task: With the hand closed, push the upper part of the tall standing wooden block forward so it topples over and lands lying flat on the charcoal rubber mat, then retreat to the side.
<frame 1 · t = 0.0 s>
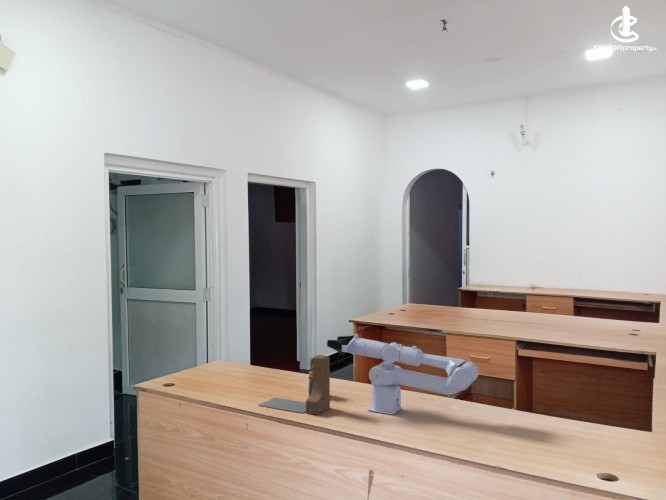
hand: (332, 341, 185), 22 cm above the table, tool horizontal, fingers open, 7 cm apart
mat: (288, 405, 181), on the table
supplement bottle: (316, 396, 193), on the table
wooden block: (318, 411, 175), on the table
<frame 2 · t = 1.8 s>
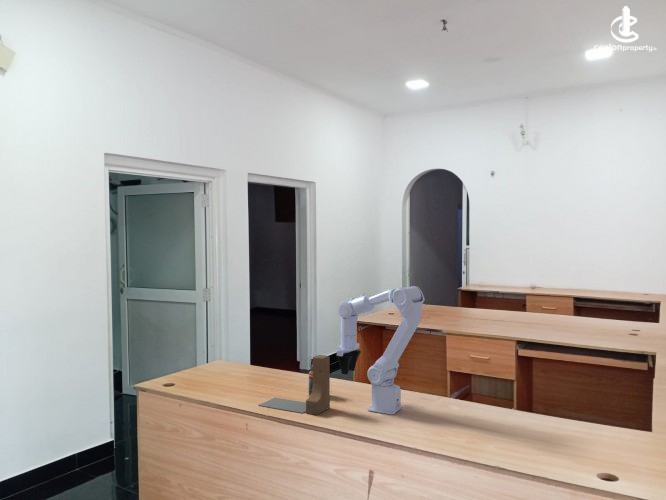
hand: (348, 372, 185), 10 cm above the table, tool pointing down, fingers open, 5 cm apart
nothing on the table moved.
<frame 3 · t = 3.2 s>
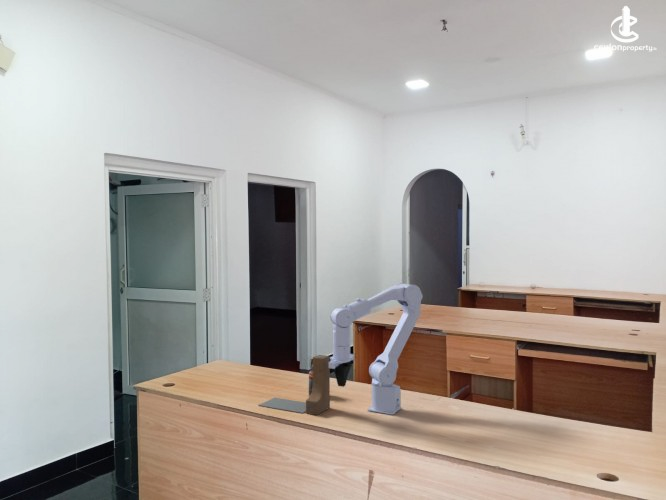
hand: (341, 385, 171), 9 cm above the table, tool pointing down, fingers closed
nothing on the table moved.
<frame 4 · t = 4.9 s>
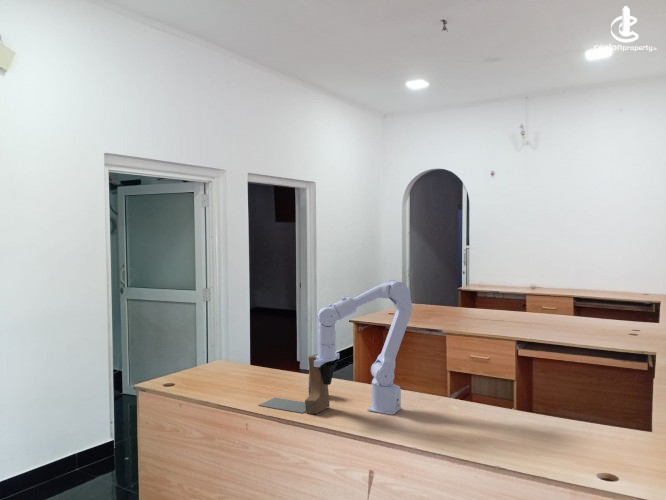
hand: (327, 384, 173), 9 cm above the table, tool pointing down, fingers closed
wooden block: (318, 410, 175), on the table, touching gripper
everything else where it was.
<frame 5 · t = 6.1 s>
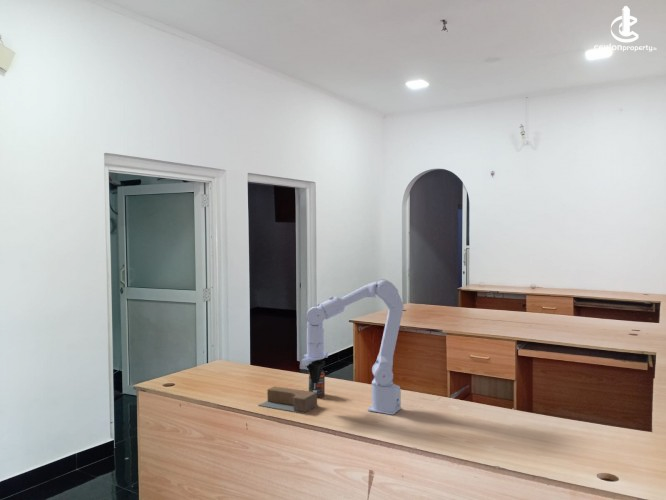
hand: (315, 382, 175), 9 cm above the table, tool pointing down, fingers closed
wooden block: (311, 402, 176), point 3 cm above the table, touching mat
everything else where it was.
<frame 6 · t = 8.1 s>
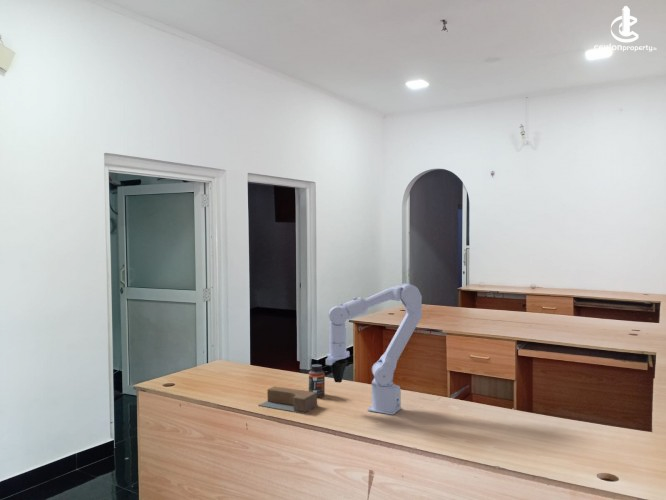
hand: (338, 381, 176), 10 cm above the table, tool pointing down, fingers closed
nothing on the table moved.
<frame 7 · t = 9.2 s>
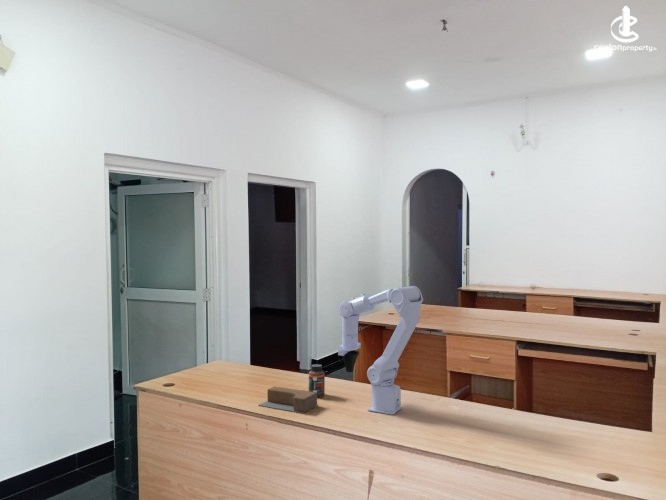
hand: (349, 371, 186), 10 cm above the table, tool pointing down, fingers closed
nothing on the table moved.
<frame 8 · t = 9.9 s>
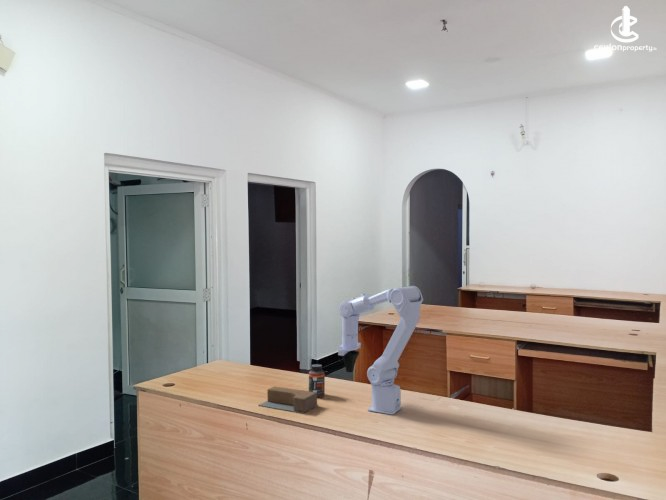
hand: (349, 371, 186), 10 cm above the table, tool pointing down, fingers closed
nothing on the table moved.
at the end: wooden block tilted 90°; wooden block inside the target area (6.6 cm from its centre), point 2.6 cm above the table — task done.
